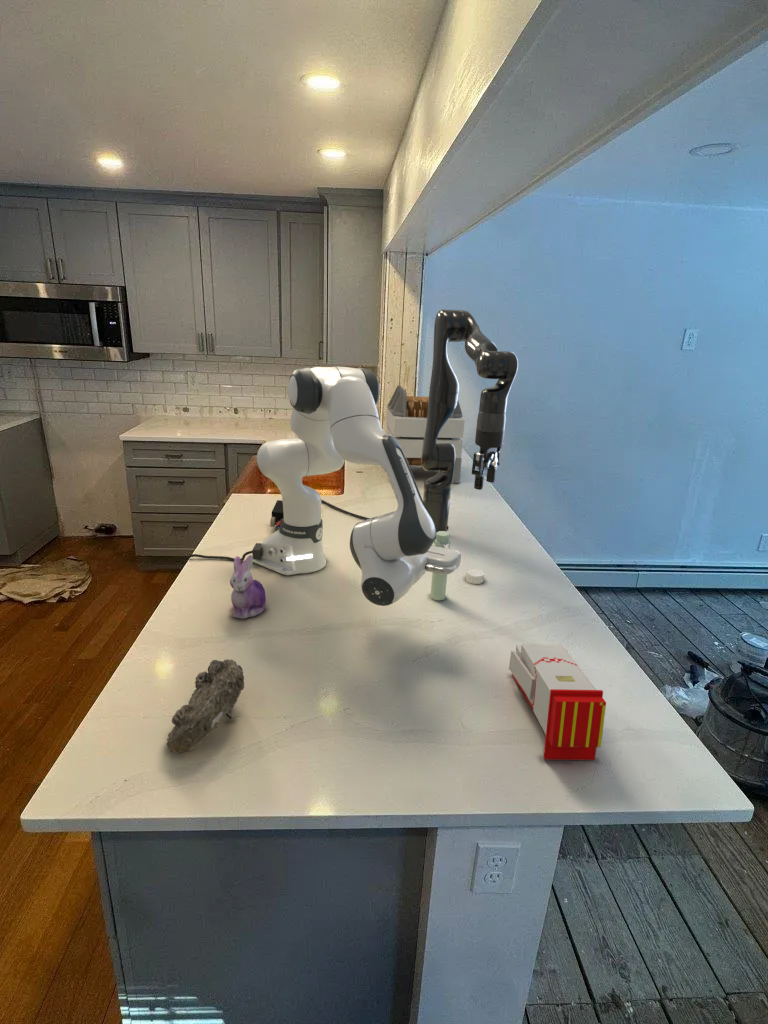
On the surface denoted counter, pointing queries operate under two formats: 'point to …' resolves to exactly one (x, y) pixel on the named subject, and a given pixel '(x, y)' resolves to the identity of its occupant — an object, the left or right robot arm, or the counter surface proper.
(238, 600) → the figurine
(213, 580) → the counter surface
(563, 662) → the toy
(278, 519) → the figurine character
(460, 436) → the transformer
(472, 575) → the lid
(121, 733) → the counter surface
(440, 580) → the pale green cylinder
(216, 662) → the fossil
